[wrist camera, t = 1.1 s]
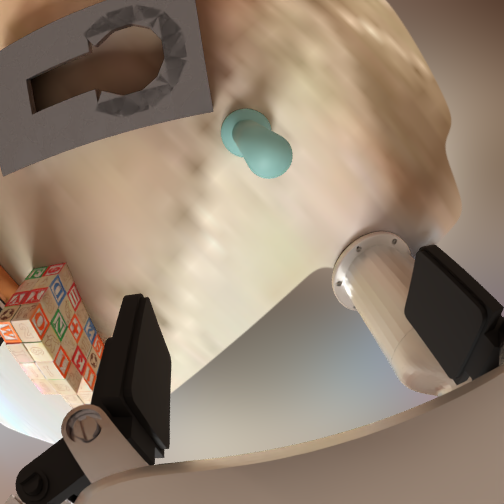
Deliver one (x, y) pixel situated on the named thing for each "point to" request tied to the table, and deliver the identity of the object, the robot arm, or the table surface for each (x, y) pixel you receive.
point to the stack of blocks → (53, 335)
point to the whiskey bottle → (6, 290)
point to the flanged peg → (256, 143)
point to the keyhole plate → (91, 103)
